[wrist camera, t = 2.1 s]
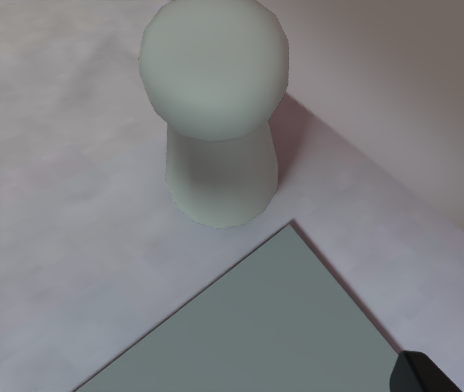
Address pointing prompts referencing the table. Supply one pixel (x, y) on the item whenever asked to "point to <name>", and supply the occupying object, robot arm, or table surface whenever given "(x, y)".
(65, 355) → the table surface
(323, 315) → the slate mat
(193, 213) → the salt shaker
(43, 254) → the table surface
